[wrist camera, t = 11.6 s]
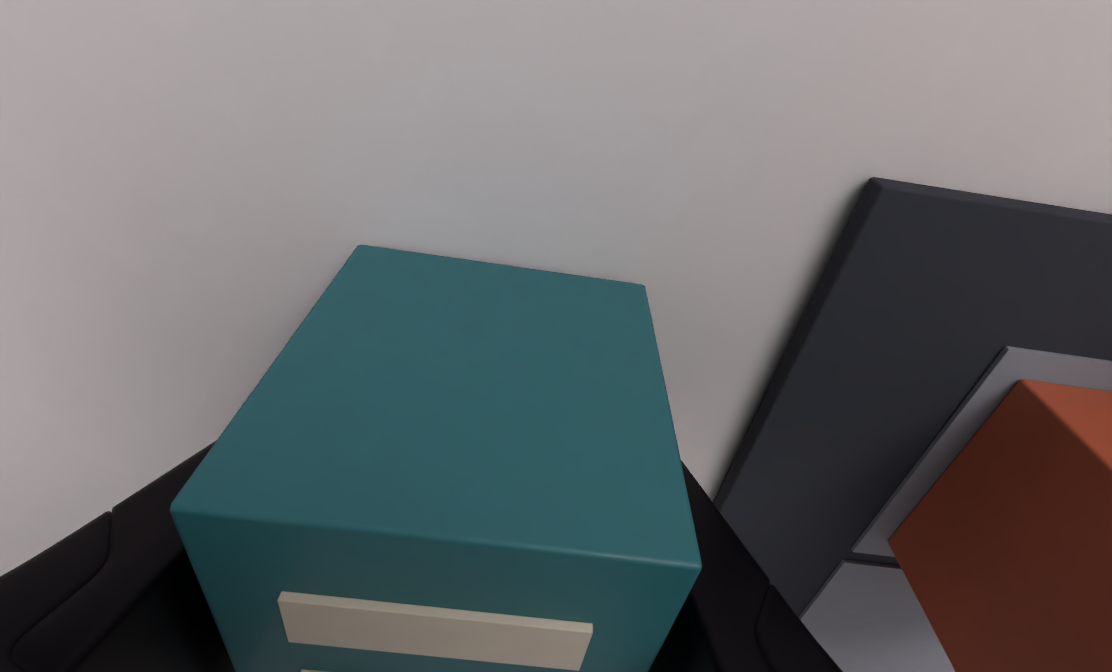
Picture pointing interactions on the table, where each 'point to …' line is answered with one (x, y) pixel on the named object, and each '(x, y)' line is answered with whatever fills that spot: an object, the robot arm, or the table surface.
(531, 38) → the table surface
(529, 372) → the letter block
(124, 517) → the robot arm
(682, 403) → the table surface
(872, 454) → the word mat
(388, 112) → the table surface
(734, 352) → the table surface
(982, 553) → the letter block
